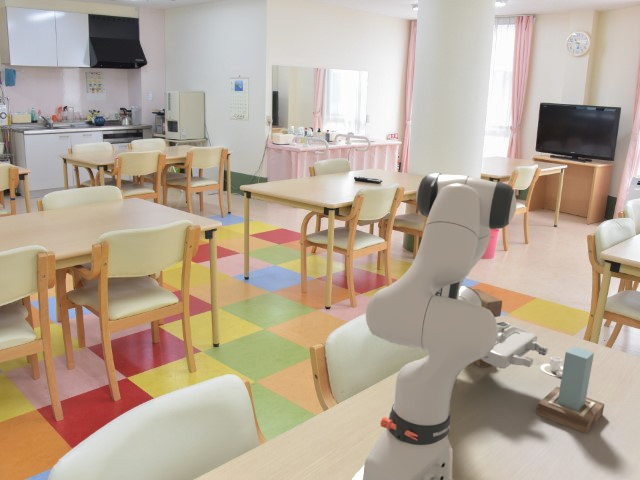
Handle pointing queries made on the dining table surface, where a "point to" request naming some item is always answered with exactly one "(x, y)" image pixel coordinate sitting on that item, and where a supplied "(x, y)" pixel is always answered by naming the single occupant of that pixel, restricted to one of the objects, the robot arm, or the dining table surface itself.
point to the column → (575, 378)
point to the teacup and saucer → (554, 366)
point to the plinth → (570, 412)
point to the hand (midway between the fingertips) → (539, 357)
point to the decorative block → (494, 307)
